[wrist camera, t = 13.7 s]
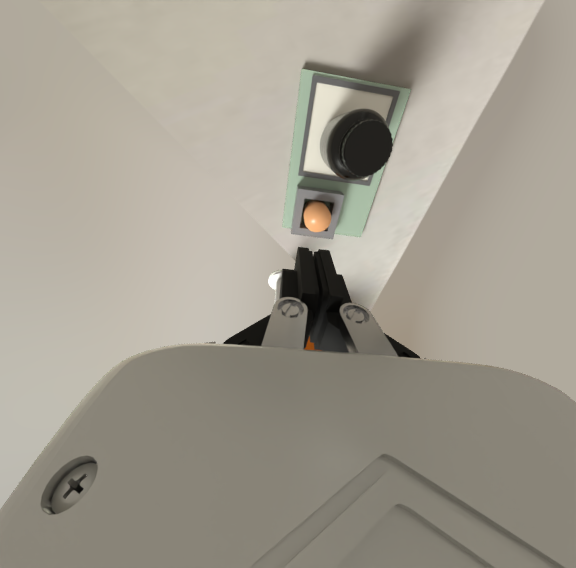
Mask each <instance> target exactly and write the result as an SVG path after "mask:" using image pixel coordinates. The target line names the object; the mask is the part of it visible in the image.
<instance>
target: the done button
mask: <svg viewBox="0 0 576 568" xmlns="http://www.w3.org/2000/svg"><path fill="white" fill-rule="evenodd" d="M303 216H304V221H305V225H306V227H307V228H308V229H309V230H310V231H313V232H321V231H324V230H325V229H327V228H328V226H329V225H330V223H331V213H330V211H329V209H328V208H327V206H326V204H325V203H324V202H323V201H320V200H313V199H312V200H309V201H308V202H307V203H306V204H305V206H304V208H303Z"/></svg>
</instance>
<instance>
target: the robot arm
mask: <svg viewBox="0 0 576 568" xmlns="http://www.w3.org/2000/svg"><path fill="white" fill-rule="evenodd" d="M309 336H310V342H311V343H314V350H306V349H305V348H306V345H307V342H308V339H309ZM319 350H322V351H319ZM86 475H87V476H86ZM0 568H576V402H575V401H573V400H572V399H571V398H570V397H569V396H567V395H566V394H565V393H563V392H562V391H560V390H559V389H557V388H555V387H553V386H551V385H549V384H547V383H545V382H543V381H541V380H538V379H536V378H533V377H531V376H528V375H525V374H522V373H519V372H515V371H512V370H508V369H504V368H499V367H494V366H488V365H480V364H472V363H463V362H453V361H442V360H431V359H426V358H424V359H421V358H420V357H419V356H418V355H417V354H415V353H414V352H412V351H411V350H409V349H408V348H406V347H405V346H403V345H402V344H400V343H399V342H397V341H395V340H394V339H392V338H391V337H389V336H388V335H386V334H385V333H383V331H382V330H381V328H380V326H379V325H378V323H377V322H376V320H375V318H374V317H373V315H372V314H371V312H370V311H369V310H368V309H366V308H365V307H363V306H362V305H359V304H356V303H352V302H351V299H350V296H349V293H348V290H347V288H346V285H345V282H344V279H343V276H342V275H338V274H336V270H335V267H334V264H333V261H332V258H331V255H330V251H329V250H320V249H319V250H318V252H314V255H313V254H312V251H309V249H308V248H302V247H298V250H297V257H296V263H295V269H294V270H289V269H282V276H281V285H280V297H279V300H277V301H276V302H275V304H274V307H273V310H272V313H271V314H270V315H269V316H267V317H265V318H263V319H262V320H260V321H258V322H256V323H255V324H253V325H251V326H249V327H248V328H246V329H244V330H243V331H241V332H239V333H237V334H236V335H234V336H232V337H231V338H229V339H228V340H226V341H225V342H224V343H223V344H216V343H215V342H209V343H196V344H195V343H193V344H179V345H171V346H166V347H161V348H157V349H152V350H148V351H145V352H142V353H139V354H137V355H134V356H131V357H129V358H128V359H126V360H124V361H122V362H120V363H119V364H118V365H116V366H115V367H113V368H112V369H111V370H110V371H109V372H108V373H107V374H106V375H104V376H103V377H102V379H101V380H99V382H98V383H97V384H96V385H95V386H94V387H93V388H92V389H91V390H90V391H89V393H88V394H87V395H86V396H85V397H84V399H83V400H82V401H81V402H80V403H79V405H78V406H77V407H76V408H75V410H74V411H73V412H72V413H71V414H70V416H69V417H68V418H67V420H66V421H65V422H64V424H63V425H62V426H61V428H60V429H59V430H58V432H57V433H56V434H55V435H54V437H53V438H52V440H51V441H50V442H49V443H48V445H47V446H46V447H45V448H44V450H43V451H42V453H41V454H40V455H39V456H38V458H37V459H36V460H35V462H34V464H33V465H32V466H31V467H30V469H29V470H28V472H27V473H26V474H25V476H24V477H23V479H22V480H21V482H20V483H19V485H18V486H17V487H16V488H15V490H14V491H13V493H12V494H11V495H10V497H9V498H8V500H7V501H6V502H5V504H4V505H3V507H2V508H1V509H0Z"/></svg>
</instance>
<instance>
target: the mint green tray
mask: <svg viewBox="0 0 576 568" xmlns="http://www.w3.org/2000/svg"><path fill="white" fill-rule="evenodd" d="M410 91H411V89H407V88H402V87H397V86H391V85H386V84H381V83H375V82H370V81H365V80H359V79H354V78H349V77H343V76H338V75H333V74H327V73H322V72H317V71H311V70H306V69H302V70H301V78H300V86H299V94H298V102H297V110H296V118H295V126H294V135H293V143H292V151H291V159H290V167H289V175H288V183H287V192H286V200H285V208H284V216H283V224H282V227H284V228H291V234H295V235H303V236H311V237H319V238H327V239H333V237H334V234H339V235H346V236H354V237H361V235H362V232H363V229H364V226H365V223H366V220H367V217H368V214H369V211H370V208H371V205H372V202H373V200H374V197H375V194H376V191H377V188H378V185H379V182H380V179H381V176H382V173H383V170H384V167H385V165H384V166H383V167H382V168H381V169H380V170H378V171H377V172H376V173H374V174H373V175H370V176H369V177H367V178H365V179H362V180H358V181H348V180H344V179H342V178H340V177H339V176H337V175H336V174H335V173H334V172H333V171H332V170H331V169H330V168H329V167H328V166H327V165H326V164H325V163H324V161H323V159H322V157H321V153H320V139H321V136H322V133H323V131H324V129H325V127H326V126H327V124H328V123H329V122H330V121H331V120H332V119H334V118H335V117H337V116H339V115H341V114H344V113H347V112H350V111H353V110H356V109H371V110H374V111H376V112H377V113H379V114H380V115H381V116H382V117H383V118H384V120H385V121H386V123H387V125H388V128H389V129H390V133H391V134H392V139H393V141H394V138H395V135H396V132H397V129H398V127H399V124H400V121H401V118H402V115H403V112H404V109H405V106H406V103H407V100H408V97H409V94H410ZM393 141H392V143H393ZM385 164H386V163H385ZM312 199H313V200H320V201H323V202H324V203H325V204H326V206H327V208H328V209H329V211H330V213H331V223H330V225H329V226H328V228H327V229H325V230H324V231H321V232H313V231H310V230H309V229H308V228H307V227H306V225H305V221H304V216H303V208H304V206H305V204H306V203H307V202H308V201H309V200H312Z"/></svg>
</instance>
